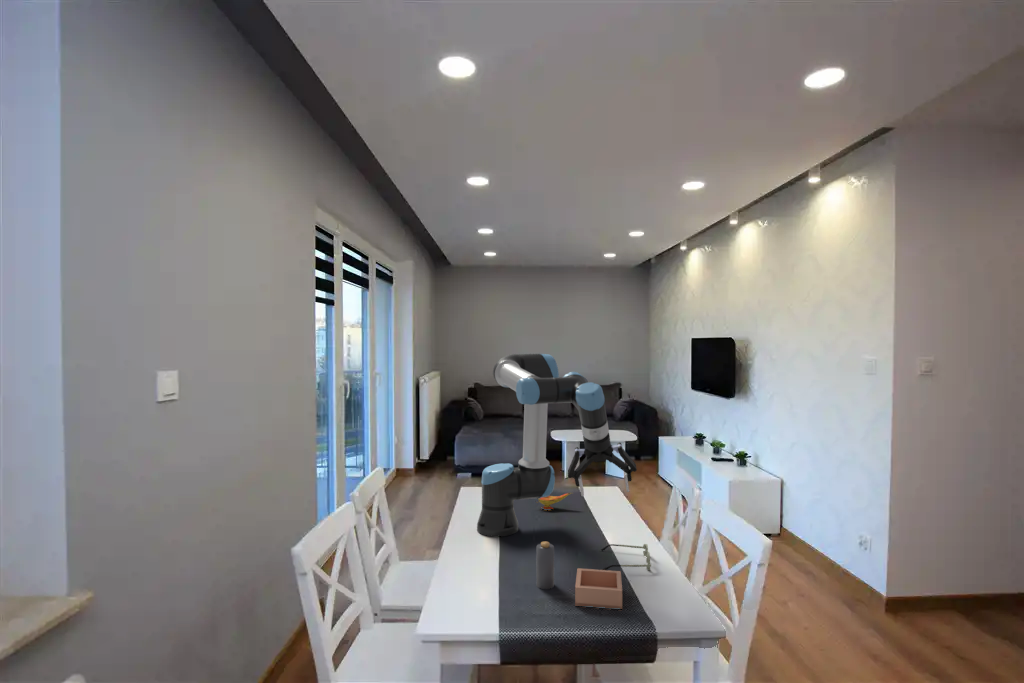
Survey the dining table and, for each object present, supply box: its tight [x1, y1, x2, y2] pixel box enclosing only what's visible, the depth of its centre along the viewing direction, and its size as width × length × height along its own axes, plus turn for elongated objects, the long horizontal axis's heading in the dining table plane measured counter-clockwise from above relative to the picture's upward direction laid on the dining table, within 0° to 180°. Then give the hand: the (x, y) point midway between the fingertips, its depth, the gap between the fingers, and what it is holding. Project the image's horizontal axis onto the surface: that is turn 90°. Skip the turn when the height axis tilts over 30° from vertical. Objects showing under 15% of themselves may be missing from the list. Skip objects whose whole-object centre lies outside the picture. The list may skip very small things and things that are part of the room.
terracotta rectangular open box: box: [574, 567, 623, 610], centre depth 145 cm, size 12×12×5 cm
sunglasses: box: [600, 543, 652, 571], centre depth 169 cm, size 17×15×5 cm
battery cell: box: [535, 541, 555, 590], centre depth 153 cm, size 5×5×12 cm
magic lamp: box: [535, 492, 574, 510], centre depth 223 cm, size 7×18×11 cm, turn 85°
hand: (604, 491), depth 164 cm, fingers open, 13 cm apart
